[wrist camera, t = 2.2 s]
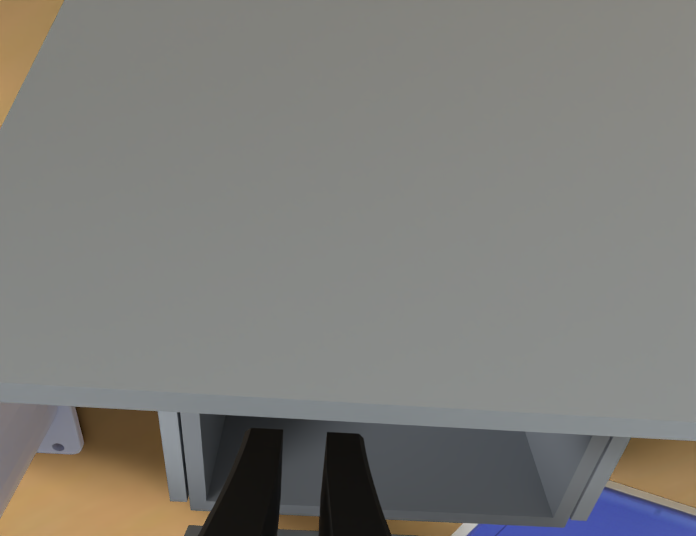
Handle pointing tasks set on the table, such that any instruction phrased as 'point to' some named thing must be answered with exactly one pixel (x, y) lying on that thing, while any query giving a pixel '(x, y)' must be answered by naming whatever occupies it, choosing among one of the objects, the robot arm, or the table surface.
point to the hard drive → (609, 518)
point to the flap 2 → (194, 530)
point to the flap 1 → (358, 213)
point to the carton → (406, 468)
